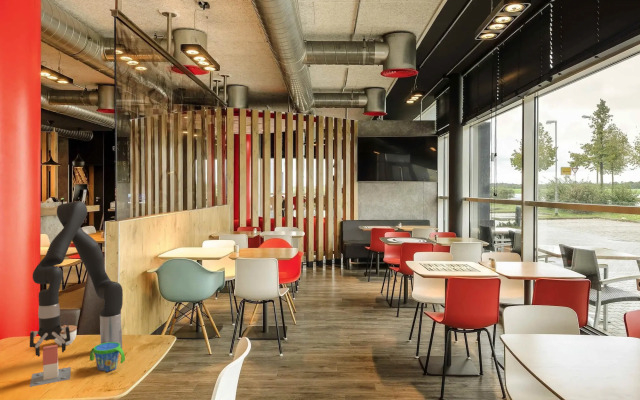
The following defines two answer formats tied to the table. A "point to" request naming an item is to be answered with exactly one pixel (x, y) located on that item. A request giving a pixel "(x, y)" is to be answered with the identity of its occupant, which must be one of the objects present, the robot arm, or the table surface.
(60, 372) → the base plate
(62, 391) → the table surface
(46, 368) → the cream brick
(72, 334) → the lidded jar
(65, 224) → the robot arm
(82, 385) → the table surface
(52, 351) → the red brick
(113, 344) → the snack cup
